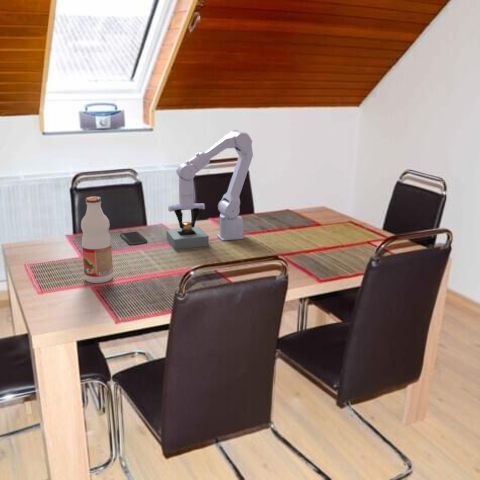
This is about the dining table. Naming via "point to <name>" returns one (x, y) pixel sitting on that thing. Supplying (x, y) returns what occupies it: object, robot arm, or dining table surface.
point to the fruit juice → (96, 243)
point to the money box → (187, 238)
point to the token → (187, 227)
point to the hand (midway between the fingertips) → (187, 227)
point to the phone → (133, 238)
